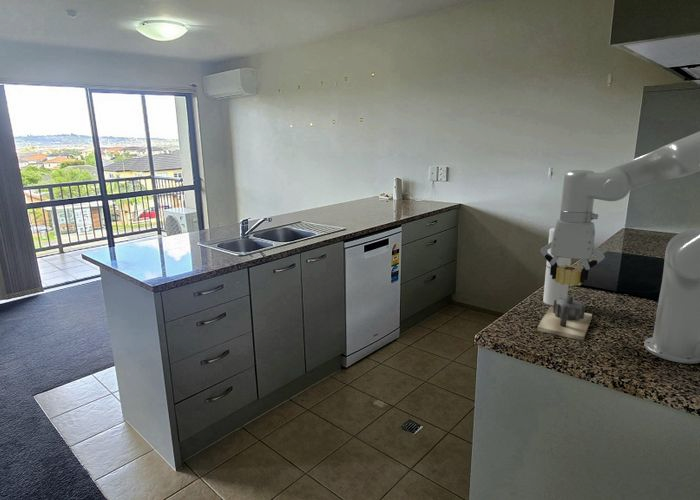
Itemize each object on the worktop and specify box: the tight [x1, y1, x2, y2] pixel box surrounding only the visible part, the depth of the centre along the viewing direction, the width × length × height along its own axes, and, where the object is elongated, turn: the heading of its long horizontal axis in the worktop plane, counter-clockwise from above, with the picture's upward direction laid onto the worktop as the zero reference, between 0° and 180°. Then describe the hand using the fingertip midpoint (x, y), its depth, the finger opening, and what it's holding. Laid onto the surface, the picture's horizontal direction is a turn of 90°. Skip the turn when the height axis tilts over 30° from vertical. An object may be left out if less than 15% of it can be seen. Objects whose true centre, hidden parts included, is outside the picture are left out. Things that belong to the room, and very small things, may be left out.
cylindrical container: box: [542, 227, 572, 307], centre depth 141 cm, size 7×7×25 cm
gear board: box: [536, 295, 593, 342], centre depth 127 cm, size 12×18×7 cm, turn 145°
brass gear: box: [555, 265, 583, 287], centre depth 118 cm, size 7×7×4 cm
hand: (568, 279), depth 119 cm, fingers closed on brass gear, 6 cm apart
